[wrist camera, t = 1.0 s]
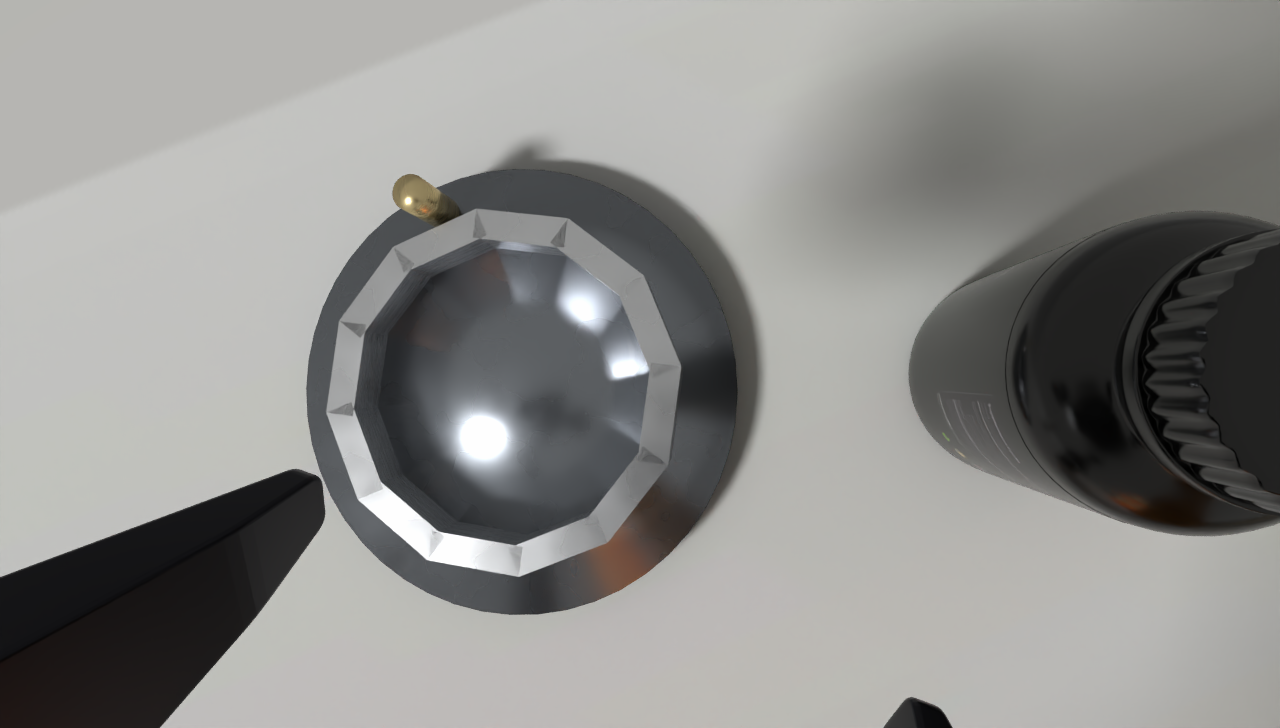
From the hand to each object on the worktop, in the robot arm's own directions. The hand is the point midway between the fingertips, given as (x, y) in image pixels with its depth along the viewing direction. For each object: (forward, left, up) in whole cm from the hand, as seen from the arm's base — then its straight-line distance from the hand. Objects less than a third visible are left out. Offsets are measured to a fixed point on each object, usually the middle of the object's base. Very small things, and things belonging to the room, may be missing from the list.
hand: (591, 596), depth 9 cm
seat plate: (+5, +4, -13) cm, 15 cm away
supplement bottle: (-1, -12, -14) cm, 18 cm away
